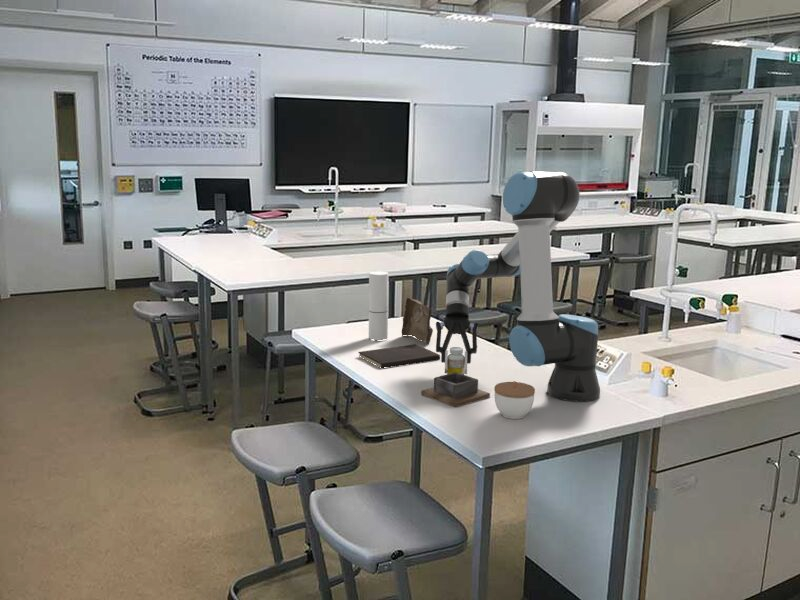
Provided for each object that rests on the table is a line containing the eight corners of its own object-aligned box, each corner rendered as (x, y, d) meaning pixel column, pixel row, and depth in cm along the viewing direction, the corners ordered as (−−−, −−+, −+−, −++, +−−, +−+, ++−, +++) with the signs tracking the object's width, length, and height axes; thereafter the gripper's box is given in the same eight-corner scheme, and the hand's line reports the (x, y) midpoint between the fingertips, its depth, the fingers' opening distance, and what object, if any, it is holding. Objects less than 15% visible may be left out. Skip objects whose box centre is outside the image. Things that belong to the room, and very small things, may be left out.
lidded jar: (541, 415, 200) (542, 381, 198) (519, 425, 192) (521, 390, 190) (507, 405, 207) (509, 373, 205) (485, 415, 199) (486, 381, 197)
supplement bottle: (457, 382, 227) (458, 351, 225) (443, 378, 231) (444, 348, 229) (467, 378, 231) (468, 348, 229) (453, 374, 235) (454, 345, 233)
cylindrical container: (388, 336, 281) (389, 271, 276) (386, 341, 274) (387, 275, 269) (370, 336, 282) (370, 271, 277) (367, 340, 275) (367, 274, 270)
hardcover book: (358, 358, 253) (358, 351, 253) (415, 350, 265) (415, 344, 265) (381, 370, 240) (381, 363, 239) (440, 361, 252) (440, 354, 251)
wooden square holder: (489, 397, 214) (490, 379, 213) (455, 407, 205) (456, 389, 204) (455, 385, 224) (456, 368, 223) (421, 394, 215) (421, 377, 214)
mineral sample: (400, 336, 282) (401, 297, 279) (409, 335, 284) (410, 296, 281) (426, 346, 268) (427, 305, 265) (435, 345, 270) (436, 304, 267)
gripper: (485, 315, 242) (485, 378, 229) (429, 313, 243) (425, 376, 230) (486, 302, 236) (486, 366, 223) (428, 300, 237) (425, 364, 224)
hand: (455, 371), depth 227 cm, fingers closed on supplement bottle, 5 cm apart
